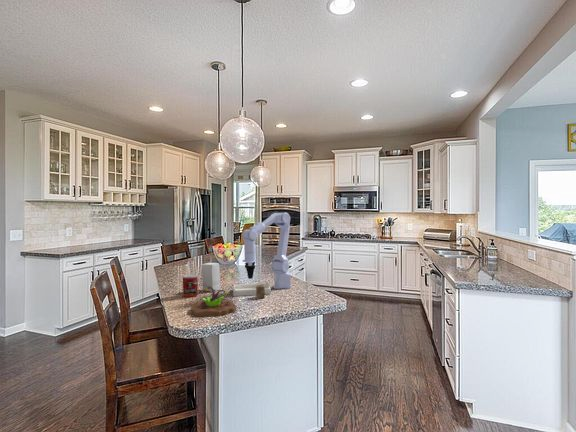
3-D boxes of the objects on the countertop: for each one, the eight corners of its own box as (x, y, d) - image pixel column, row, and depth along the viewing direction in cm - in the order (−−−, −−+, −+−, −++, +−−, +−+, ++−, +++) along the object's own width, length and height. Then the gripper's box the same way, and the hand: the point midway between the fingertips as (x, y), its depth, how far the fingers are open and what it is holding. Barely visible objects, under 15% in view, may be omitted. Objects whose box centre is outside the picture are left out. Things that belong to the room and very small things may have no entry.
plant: (190, 307, 150) (189, 283, 149) (231, 302, 156) (230, 280, 156) (191, 320, 131) (191, 293, 131) (238, 314, 137) (237, 289, 137)
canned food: (182, 298, 164) (182, 277, 164) (183, 294, 172) (183, 274, 172) (197, 297, 166) (197, 276, 166) (198, 293, 174) (197, 273, 174)
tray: (268, 287, 183) (268, 283, 183) (270, 293, 170) (270, 288, 170) (234, 289, 180) (233, 285, 180) (233, 296, 167) (233, 290, 167)
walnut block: (264, 296, 165) (263, 285, 165) (264, 298, 161) (264, 286, 161) (256, 296, 164) (256, 285, 164) (256, 298, 160) (256, 287, 160)
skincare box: (220, 289, 181) (220, 263, 181) (212, 292, 175) (211, 264, 175) (210, 288, 185) (209, 262, 185) (201, 290, 180) (201, 263, 180)
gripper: (242, 250, 175) (242, 274, 175) (242, 253, 161) (242, 280, 161) (255, 250, 176) (255, 274, 176) (255, 253, 161) (256, 279, 162)
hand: (250, 277), depth 168 cm, fingers open, 7 cm apart
